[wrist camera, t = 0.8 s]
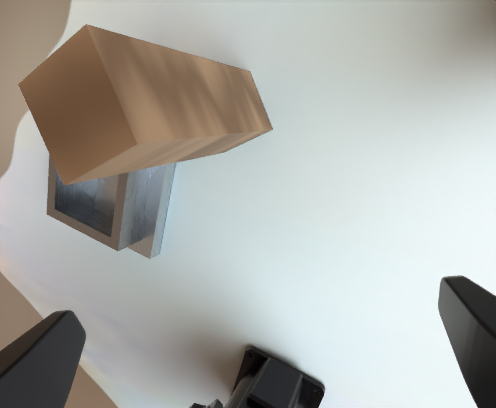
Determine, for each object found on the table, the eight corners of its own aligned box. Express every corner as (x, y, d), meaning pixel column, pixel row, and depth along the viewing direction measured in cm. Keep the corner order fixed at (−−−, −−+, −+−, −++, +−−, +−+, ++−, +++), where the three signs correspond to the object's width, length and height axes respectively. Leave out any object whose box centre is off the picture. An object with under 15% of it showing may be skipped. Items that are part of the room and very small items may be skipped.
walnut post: (273, 129, 22) (137, 144, 11) (224, 152, 24) (64, 185, 13) (249, 71, 22) (86, 24, 11) (202, 99, 24) (18, 84, 12)
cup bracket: (159, 253, 29) (128, 271, 26) (73, 210, 32) (36, 221, 29) (180, 139, 25) (147, 142, 22) (81, 103, 29) (40, 101, 25)
